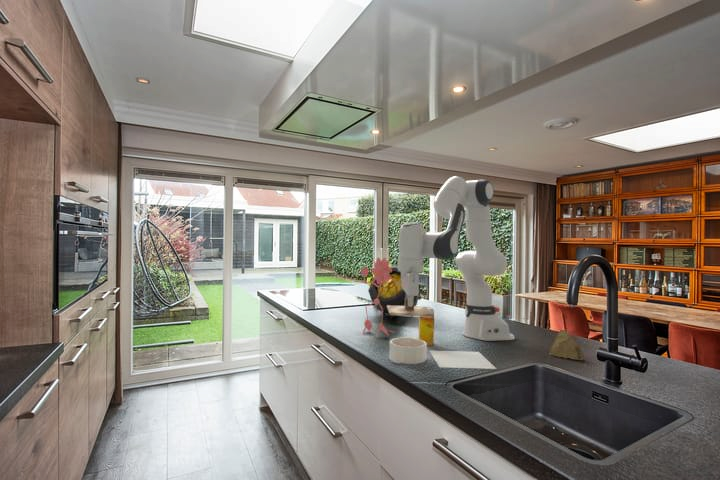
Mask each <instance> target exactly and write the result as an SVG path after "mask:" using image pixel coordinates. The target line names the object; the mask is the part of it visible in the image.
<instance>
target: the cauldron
mask: <svg viewBox="0 0 720 480" xmlns="http://www.w3.org/2000/svg"><path fill="white" fill-rule="evenodd" d="M390 267H391V269H392V272H391V273H389V274H390V276H391V278H392V279H393V280H394V281H395V282H396V283H397V284H398V285H399V287H398V286H397V285H396V284H395V283H394V282H393V281H392V280H391V279H387V283H386V284H384V283H382V285H381V286H380V284H381V283H380V284H377V280H375V281H374V283H375V284H376V285H378V286H380V288H378V287H377V286H375V285H374V284H372V283H369V284H370V285H369V288H368V294H369V296H370V300H371V302H372V303H374V300H375V299H377V297H378V293H379V289H381V290H380V293H379V297H378V300H379V301H380V305H381V307H382V309H383V317H382V318H383V319H386V320H388V321H389V320H391V319H393V318H395V317H401V315H389V312H388V309H387V305H390V306H405V298H406V295H405V291H404V290H403V289H402V284H401V272H400V271H398V264H396V265H392V266H390ZM373 280H374V276H373V277H372V279H371V282H372V281H373ZM420 289H421V287H419V293H418V296H414V306H417V305H418V302H419V300H422V295H420V294H421V290H420ZM380 305H379V304H378V305H375V307H376V309H377V310H378V311H380V312H382V309H381V307H380Z"/></svg>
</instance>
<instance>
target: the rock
mask: <svg viewBox="0 0 720 480" xmlns="http://www.w3.org/2000/svg"><path fill="white" fill-rule="evenodd" d="M548 356H553V357H556V356H557V357H556V358H561V357H563V358H562V359H567V358H570V360H577V361H584V360H585V357H584V353H583V351H582V349H581V347H580V345H578V343H577V342H576V340H575V339H574V338H573V337H572V335H570V333H568V331H567V330H564V329H560V331H559V332H558V333H557V334H556V336H555V338H554V341H553V343H552V344H551V347H550V350H549V353H548Z"/></svg>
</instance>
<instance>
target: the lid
mask: <svg viewBox="0 0 720 480" xmlns="http://www.w3.org/2000/svg"><path fill="white" fill-rule="evenodd" d="M407 301H408V298H405V306H390V305H387V309H388V312H389V315H388V316H390V315H400V317H401V316H406V317H407V316H409V317H419V316H433V317H434V318H435V313H434V314H433V313H432V312H431V311H430V310H429V309H428V308H427V307H428V306H419V305H418V306H417V305H416V306H414V299H413V306H412V307H409V306H408V305H407Z"/></svg>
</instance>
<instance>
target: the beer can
mask: <svg viewBox="0 0 720 480" xmlns="http://www.w3.org/2000/svg"><path fill="white" fill-rule="evenodd" d="M426 307H427V308H428V309H429V310H430V311H431V312H432V313H433V314H434V315H435V310H434V308H433V307H430V306H426ZM418 317H419V318H418V339H420V340H423V341H425V342H426V343H427V346H432V345H433V344H434V343H435V342H434V340H435V339H434V337H435V335H434V333H435V316H434V317H433V316H418Z"/></svg>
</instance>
